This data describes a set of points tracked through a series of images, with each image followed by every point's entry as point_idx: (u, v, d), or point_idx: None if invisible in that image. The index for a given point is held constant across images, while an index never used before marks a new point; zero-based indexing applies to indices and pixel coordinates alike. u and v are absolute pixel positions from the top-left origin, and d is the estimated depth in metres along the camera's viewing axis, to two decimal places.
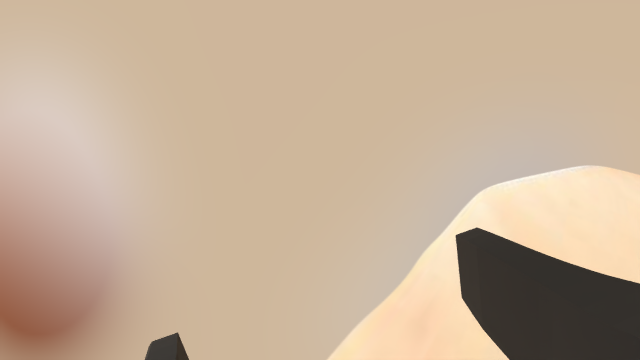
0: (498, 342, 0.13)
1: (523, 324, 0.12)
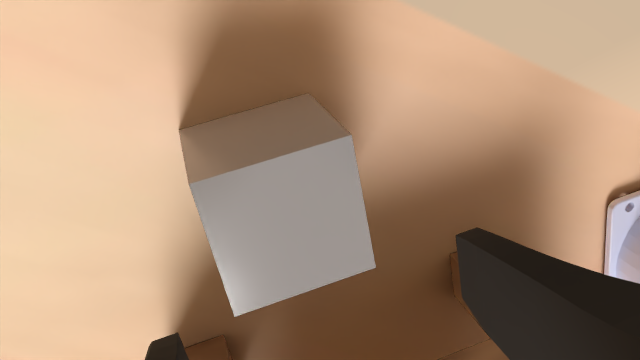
0: (498, 343, 0.13)
1: (523, 324, 0.12)
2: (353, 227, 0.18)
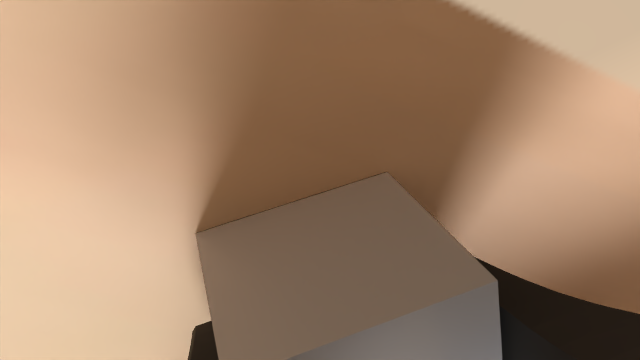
0: None
1: None
2: None
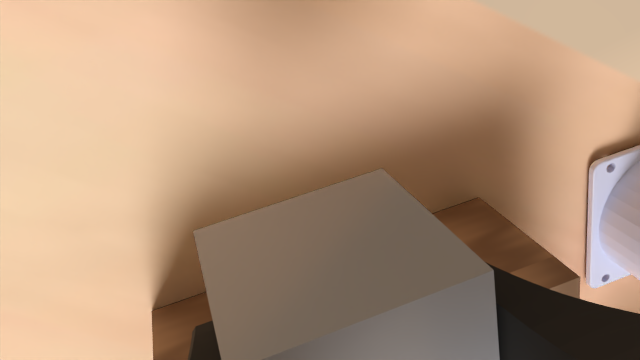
0: None
1: None
2: None
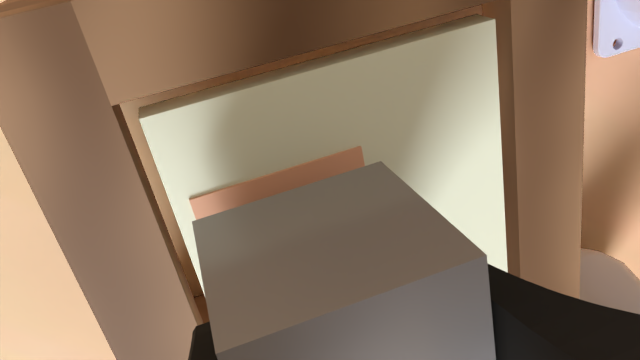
0: None
1: None
2: None
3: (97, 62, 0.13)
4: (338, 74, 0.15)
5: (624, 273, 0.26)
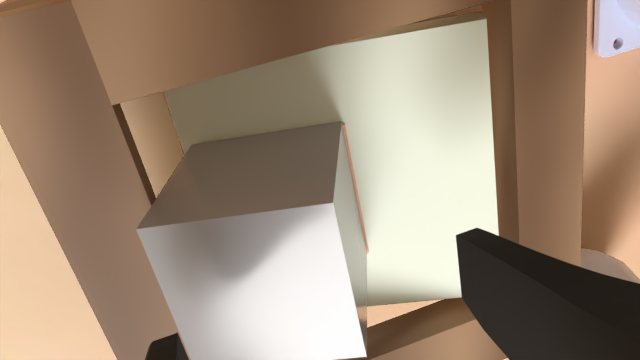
0: (498, 343, 0.13)
1: (523, 324, 0.12)
2: (337, 307, 0.15)
3: (98, 62, 0.13)
4: (323, 57, 0.17)
5: (624, 273, 0.26)
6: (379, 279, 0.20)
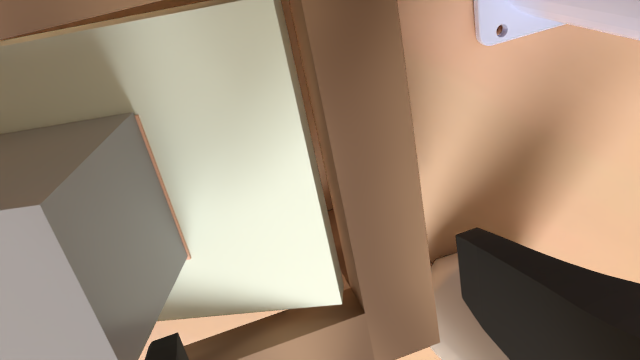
0: (498, 343, 0.13)
1: (523, 324, 0.12)
2: (79, 325, 0.13)
3: None
4: (101, 39, 0.15)
5: None
6: (208, 288, 0.18)
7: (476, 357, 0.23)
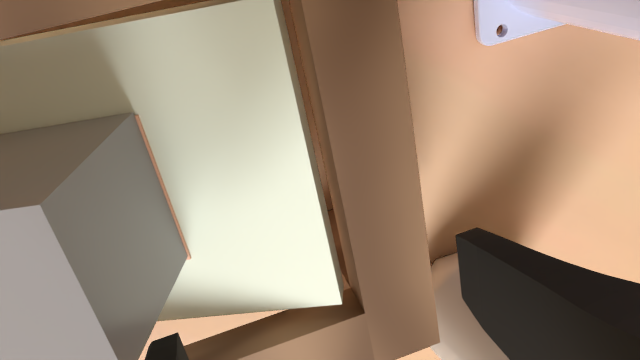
0: (498, 343, 0.13)
1: (523, 324, 0.12)
2: (79, 325, 0.13)
3: None
4: (101, 39, 0.15)
5: None
6: (208, 288, 0.18)
7: (476, 356, 0.23)
